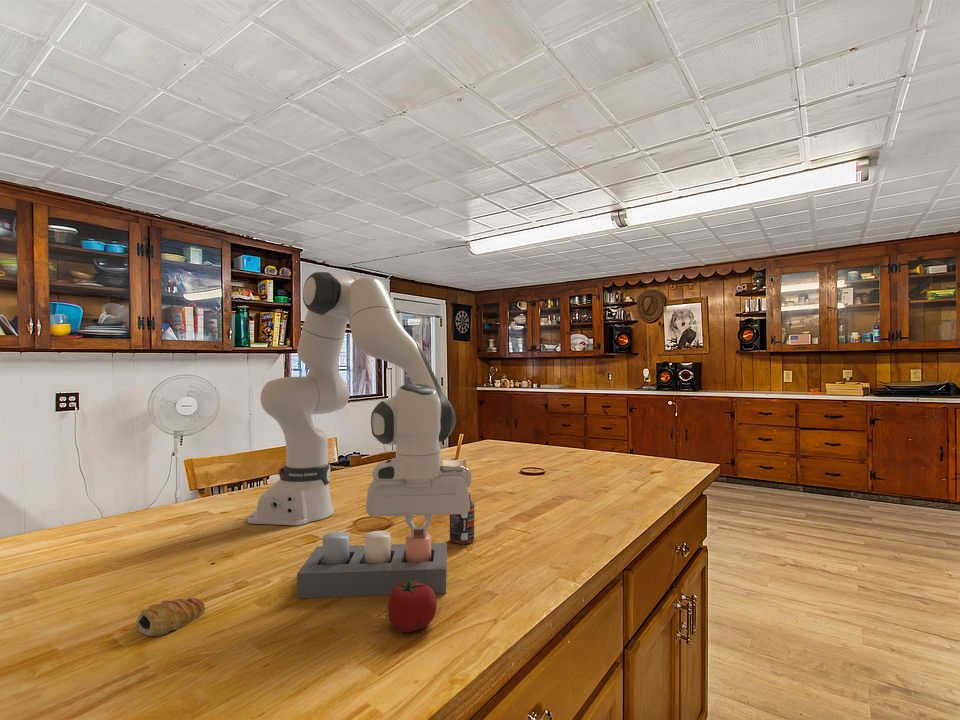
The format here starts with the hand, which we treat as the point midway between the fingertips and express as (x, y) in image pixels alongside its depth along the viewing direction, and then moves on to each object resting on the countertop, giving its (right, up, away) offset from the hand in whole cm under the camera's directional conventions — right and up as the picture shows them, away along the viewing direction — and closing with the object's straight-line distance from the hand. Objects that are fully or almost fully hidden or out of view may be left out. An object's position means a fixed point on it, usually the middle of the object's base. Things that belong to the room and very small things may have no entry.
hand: (419, 536), depth 96 cm
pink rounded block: (0, -6, 0) cm, 6 cm away
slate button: (-16, -6, -1) cm, 17 cm away
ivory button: (-8, -5, 0) cm, 10 cm away
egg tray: (-8, -8, 0) cm, 12 cm away
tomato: (+1, -8, -17) cm, 19 cm away
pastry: (-39, -9, -16) cm, 43 cm away
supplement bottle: (+8, -9, +21) cm, 24 cm away
